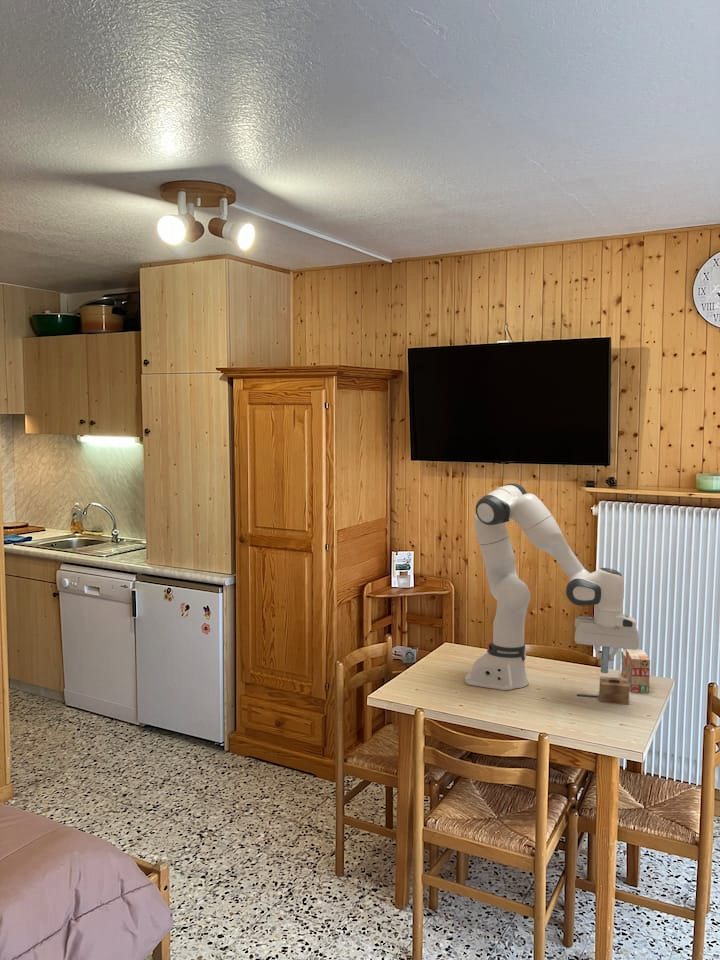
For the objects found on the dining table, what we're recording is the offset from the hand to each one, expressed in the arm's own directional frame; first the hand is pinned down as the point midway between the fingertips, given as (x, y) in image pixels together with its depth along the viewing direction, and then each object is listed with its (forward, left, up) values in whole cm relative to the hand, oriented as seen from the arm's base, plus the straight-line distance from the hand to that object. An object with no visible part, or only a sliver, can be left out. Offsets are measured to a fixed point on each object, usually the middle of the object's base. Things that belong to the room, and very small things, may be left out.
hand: (605, 659), depth 256 cm
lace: (-5, +9, -16) cm, 19 cm away
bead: (+3, +9, -16) cm, 18 cm away
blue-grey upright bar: (0, 0, -4) cm, 4 cm away
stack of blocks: (+12, +28, -16) cm, 34 cm away
